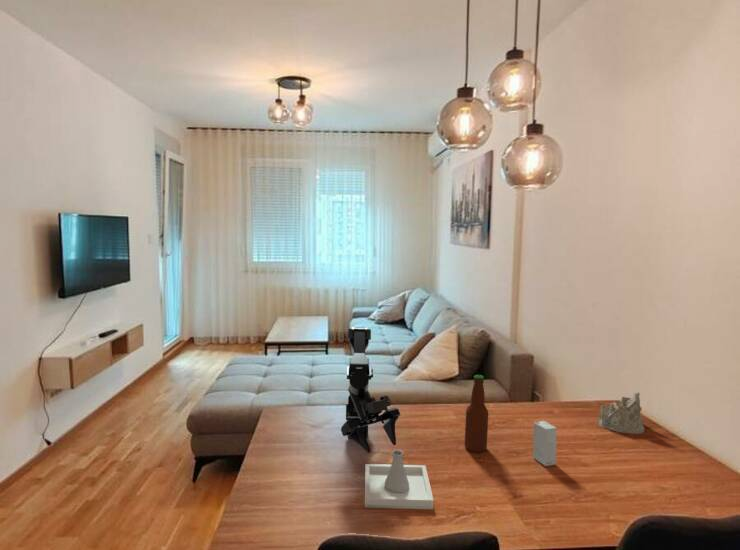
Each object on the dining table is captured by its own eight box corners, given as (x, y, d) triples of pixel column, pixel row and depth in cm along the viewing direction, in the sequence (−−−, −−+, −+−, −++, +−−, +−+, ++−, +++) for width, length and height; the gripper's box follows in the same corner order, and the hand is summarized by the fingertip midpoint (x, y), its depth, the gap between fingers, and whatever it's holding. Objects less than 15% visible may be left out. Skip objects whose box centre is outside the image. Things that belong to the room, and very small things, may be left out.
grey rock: (644, 421, 182) (645, 384, 181) (644, 439, 168) (644, 398, 167) (600, 415, 190) (600, 379, 189) (596, 431, 176) (596, 392, 175)
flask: (412, 482, 134) (413, 449, 132) (405, 496, 127) (406, 461, 126) (388, 477, 136) (389, 444, 135) (380, 490, 129) (381, 455, 128)
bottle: (490, 448, 158) (494, 376, 155) (479, 455, 152) (483, 381, 150) (471, 440, 163) (474, 371, 160) (460, 447, 157) (463, 375, 155)
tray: (364, 507, 122) (364, 498, 122) (365, 471, 140) (365, 463, 140) (433, 509, 123) (433, 500, 122) (425, 473, 140) (425, 465, 140)
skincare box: (556, 464, 147) (558, 427, 146) (544, 466, 146) (547, 429, 145) (542, 455, 153) (544, 420, 152) (531, 457, 152) (533, 421, 150)
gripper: (346, 393, 134) (368, 445, 126) (397, 382, 144) (420, 429, 137) (332, 410, 141) (351, 461, 133) (382, 398, 152) (402, 444, 144)
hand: (382, 448), depth 136 cm, fingers open, 9 cm apart
